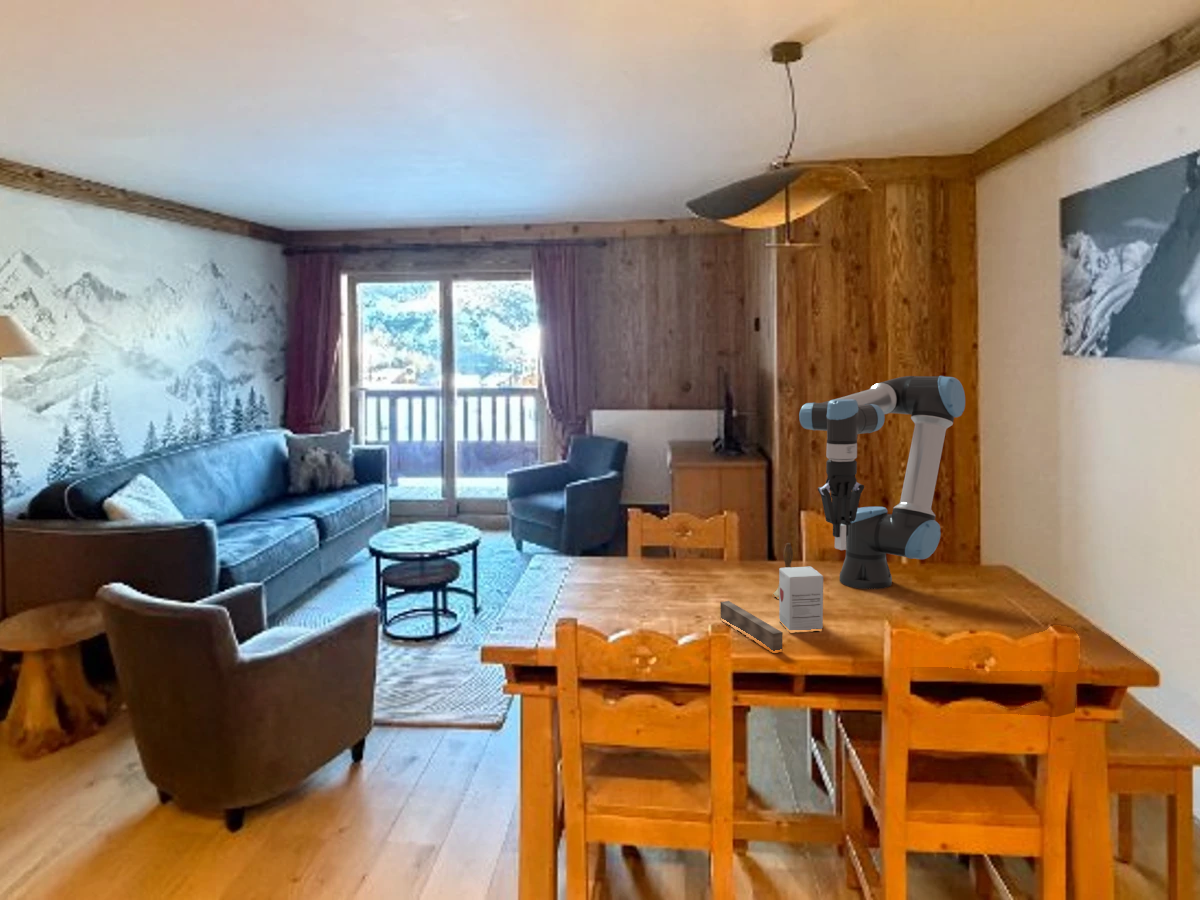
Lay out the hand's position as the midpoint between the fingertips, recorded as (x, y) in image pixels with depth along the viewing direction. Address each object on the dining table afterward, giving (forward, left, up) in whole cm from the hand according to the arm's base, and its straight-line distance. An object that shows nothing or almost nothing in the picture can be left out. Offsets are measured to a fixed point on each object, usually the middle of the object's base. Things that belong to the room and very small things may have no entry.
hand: (840, 548), depth 209 cm
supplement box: (0, -12, -20) cm, 23 cm away
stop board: (0, -27, -20) cm, 33 cm away
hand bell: (-23, -1, -20) cm, 30 cm away
